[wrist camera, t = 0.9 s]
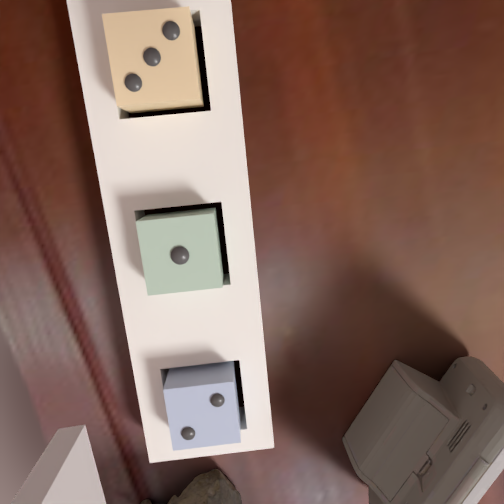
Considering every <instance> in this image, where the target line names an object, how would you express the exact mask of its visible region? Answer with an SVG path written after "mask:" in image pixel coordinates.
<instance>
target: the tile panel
mask: <svg viewBox="0 0 504 504" xmlns="http://www.w3.org/2000/svg"><path fill="white" fill-rule="evenodd" d="M67 6H68V12H69V17H70V23H71V28H72V34H73V39H74V45H75V51H76V56H77V62H78V67H79V73H80V78H81V84H82V89H83V95H84V101H85V106H86V112H87V117H88V123H89V128H90V134H91V140H92V145H93V151H94V156H95V162H96V167H97V173H98V178H99V184H100V190H101V195H102V201H103V206H104V212H105V217H106V223H107V229H108V234H109V240H110V245H111V251H112V256H113V262H114V267H115V273H116V279H117V284H118V290H119V295H120V301H121V306H122V312H123V318H124V323H125V329H126V334H127V340H128V345H129V351H130V356H131V362H132V368H133V373H134V379H135V384H136V390H137V395H138V401H139V406H140V412H141V418H142V423H143V429H144V434H145V440H146V445H147V451H148V457H149V462H150V463H154V462H162V461H170V460H179V459H187V458H195V457H203V456H211V455H219V454H228V453H236V452H244V451H252V450H260V449H268V448H274V439H273V429H272V418H271V408H270V398H269V387H268V377H267V367H266V357H265V346H264V336H263V326H262V315H261V305H260V295H259V285H258V274H257V264H256V254H255V244H254V233H253V223H252V213H251V202H250V192H249V182H248V172H247V161H246V151H245V141H244V131H243V120H242V110H241V100H240V89H239V79H238V69H237V59H236V48H235V38H234V28H233V18H232V7H231V0H67ZM188 6H189V7H190V11H191V15H192V19H193V23H194V27H196V26H201V27H202V36H203V45H204V53H205V62H206V71H207V80H208V89H209V97H210V106H211V111H202V112H192V113H181V114H171V115H160V116H150V117H139V118H129V112H127V111H125V110H123V109H122V108H120V107H118V106H117V105H116V98H115V92H114V86H113V80H112V74H111V68H110V62H109V55H108V49H107V43H106V37H105V31H104V25H103V19H102V14H107V13H118V12H130V11H142V10H153V9H165V8H176V7H188ZM215 202H221V203H222V212H223V221H224V229H225V238H226V247H227V256H228V265H229V274H223V288H214V289H205V290H196V291H187V292H178V293H168V294H159V295H150V296H148V294H147V288H146V282H145V276H144V270H143V264H142V258H141V252H140V245H139V239H138V233H137V227H136V221H137V220H139V219H141V218H142V217H144V216H145V213H144V210H146V209H156V208H166V207H176V206H186V205H195V204H205V203H215ZM235 360H239V362H240V370H241V379H242V388H243V397H244V406H245V407H239V410H240V431H241V443H233V444H225V445H216V446H208V447H200V448H192V449H184V450H175V451H173V448H172V441H171V435H170V429H169V423H168V417H167V411H166V405H165V399H164V392H163V388H164V385H165V382H166V378H167V375H168V371H169V368H174V367H183V366H192V365H200V364H209V363H218V362H226V361H235Z"/></svg>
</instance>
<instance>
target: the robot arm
mask: <svg viewBox="0 0 504 504" xmlns="http://www.w3.org/2000/svg"><path fill="white" fill-rule="evenodd" d="M11 504H106V501H105V497H104V494H103V490H102V486H101V482H100V479H99V475H98V471H97V467H96V464H95V460H94V456H93V453H92V449H91V445H90V441H89V438H88V434H87V430H86V427H85V425H80V426H74V427H67V428H61V429H58V430H57V432H56V434H55V435H54V437H53V438H52V440H51V441H50V443H49V444H48V446H47V448H46V449H45V451H44V452H43V454H42V455H41V457H40V459H39V460H38V462H37V463H36V465H35V466H34V468H33V469H32V471H31V473H30V474H29V476H28V477H27V479H26V480H25V482H24V483H23V485H22V486H21V488H20V490H19V491H18V493H17V494H16V496H15V497H14V499H13V501H12V502H11Z"/></svg>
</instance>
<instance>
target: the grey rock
mask: <svg viewBox="0 0 504 504" xmlns="http://www.w3.org/2000/svg"><path fill="white" fill-rule="evenodd" d="M140 504H152V503H151V500H148V499H146V500H143V501H142V502H141V503H140ZM168 504H242V502H241V496H240V493H239V492H238V491H237V490H236V489H235V487H234V486H233V485H232V483H230V481H229V480H228V479H227V478H226V477H225V476H224V475H223V474H222V472H221V471H220V470H218V469H214V470H211V471H210V472H208V473H203V474H200V475H198V476H197V477H195V478H194V479H193V481H192V482H191V483H190V484H189V485H188V486H187V488H185V489H184V490H183V492H182V493H181V495H180V496H179V497H178V496H176V495H174V496H172V498H171V499H170V501H169V502H168Z"/></svg>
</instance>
